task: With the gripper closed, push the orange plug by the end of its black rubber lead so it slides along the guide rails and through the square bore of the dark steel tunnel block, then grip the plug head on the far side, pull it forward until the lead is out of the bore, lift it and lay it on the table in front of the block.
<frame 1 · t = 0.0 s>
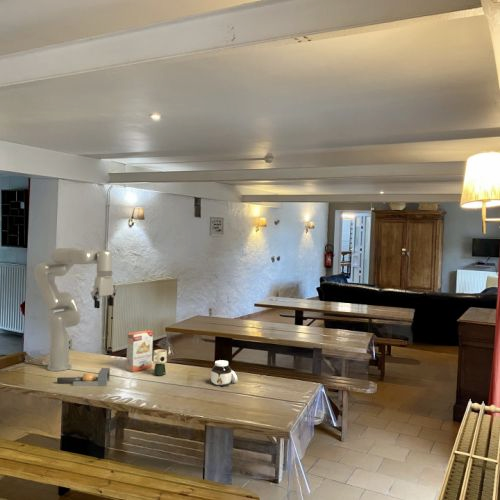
hand: (103, 306, 254), 37 cm above the table, tool pointing down, fingers open, 9 cm apart
tunnel block: (103, 382, 247), on the table
cracker box: (139, 369, 272), on the table
plug: (77, 382, 245), on the table
character mug: (159, 375, 262), on the table
spread jar: (224, 384, 249), on the table
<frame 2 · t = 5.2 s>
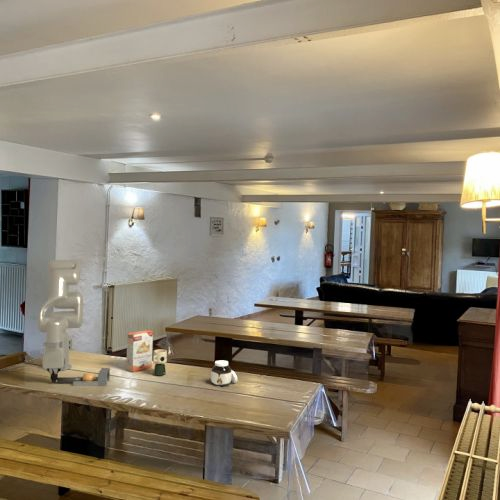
hand: (54, 381, 244), 1 cm above the table, tool pointing down, fingers closed
plug: (77, 382, 245), on the table, touching gripper
everything else where it was.
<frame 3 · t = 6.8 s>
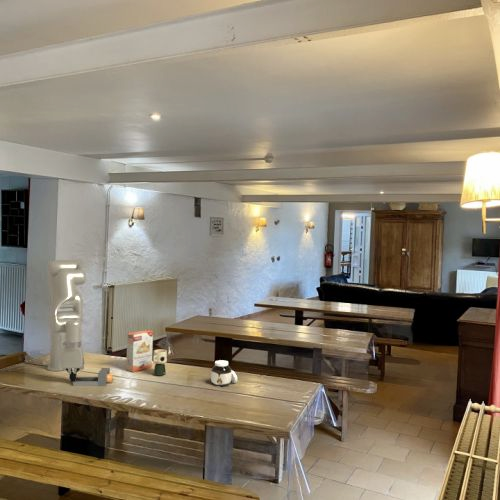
hand: (72, 381, 245), 1 cm above the table, tool pointing down, fingers closed
plug: (95, 382, 246), on the table, touching gripper
everything else where it was.
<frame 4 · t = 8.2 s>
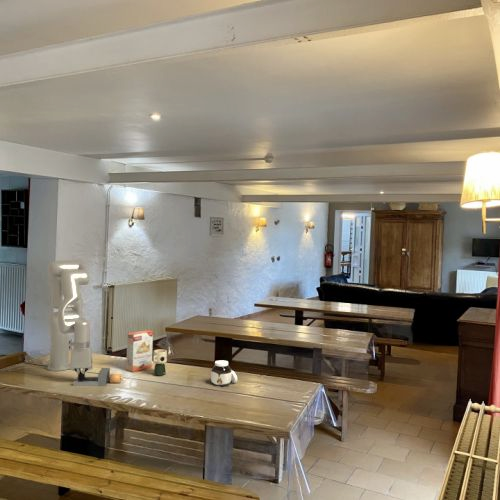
hand: (81, 381, 245), 1 cm above the table, tool pointing down, fingers closed
plug: (104, 382, 246), on the table, touching gripper
everything else where it was.
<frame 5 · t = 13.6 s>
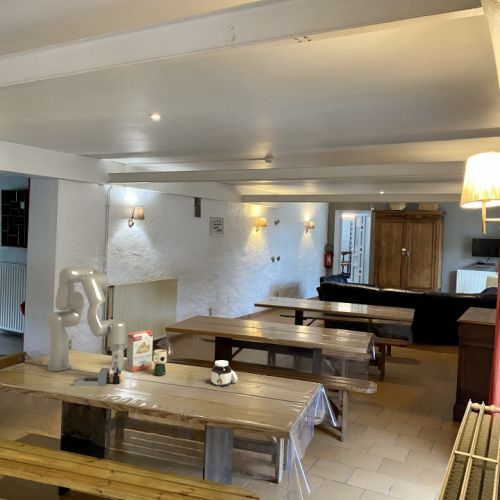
hand: (117, 381, 247), 0 cm above the table, tool pointing down, fingers closed on plug, 4 cm apart
plug: (104, 382, 246), on the table, touching gripper
everything else where it was.
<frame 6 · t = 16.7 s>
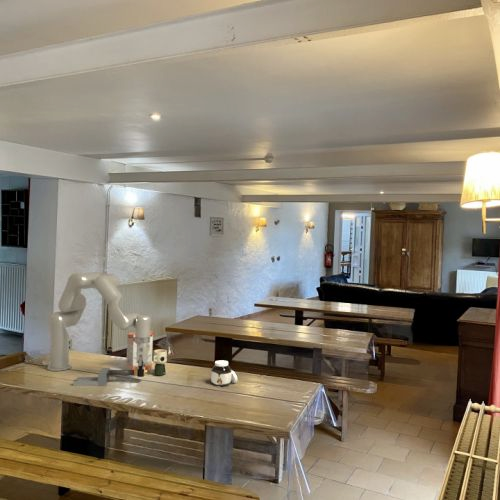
hand: (141, 374, 249), 4 cm above the table, tool pointing down, fingers closed on plug, 4 cm apart
plug: (128, 375, 248), point 3 cm above the table, touching gripper
everything else where it was.
when the fingers open (2 cm above the table, at t = 20.2 s): plug drops 1 cm, on the table.
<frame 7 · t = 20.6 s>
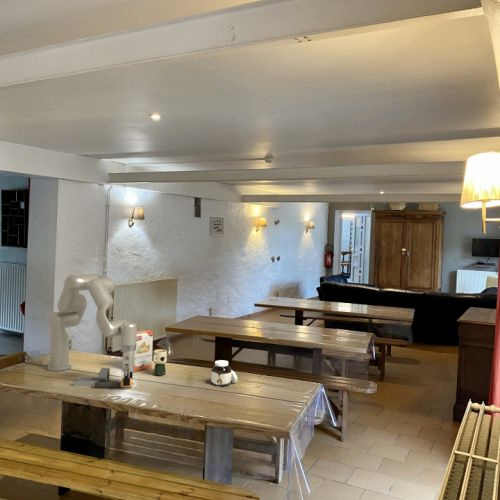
hand: (127, 382, 240), 2 cm above the table, tool pointing down, fingers open, 8 cm apart
plug: (114, 387, 239), on the table
everything else where it was.
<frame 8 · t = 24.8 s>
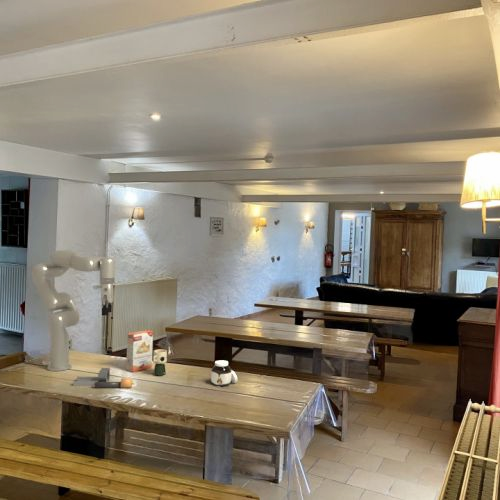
hand: (106, 313, 256), 33 cm above the table, tool pointing down, fingers open, 9 cm apart
nothing on the table moved.
at the end: plug inside the target area (1.0 cm from its centre), on the table; the gripper is holding nothing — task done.
